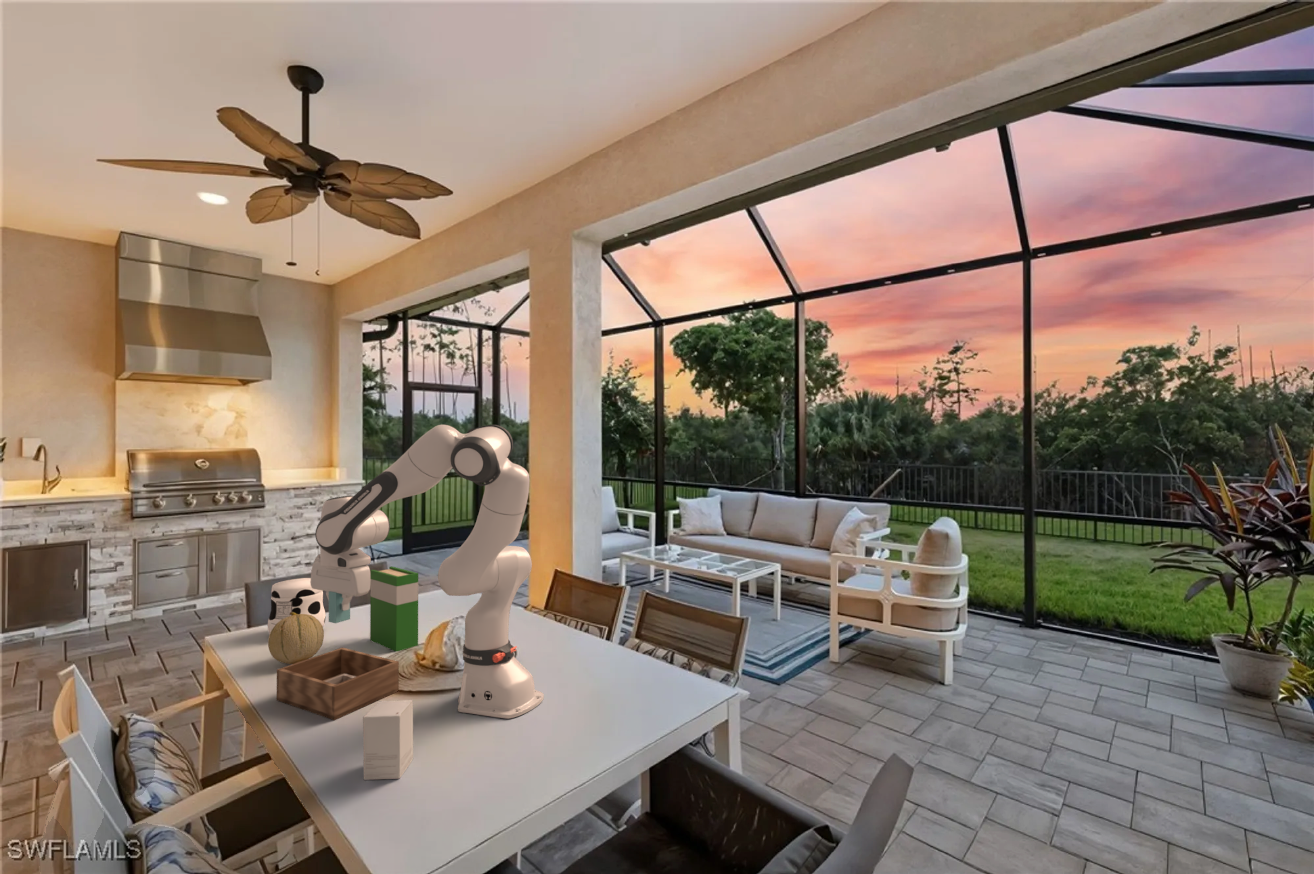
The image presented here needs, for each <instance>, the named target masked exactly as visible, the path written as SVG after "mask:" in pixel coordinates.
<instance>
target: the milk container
mask: <svg viewBox="0 0 1314 874" xmlns="http://www.w3.org/2000/svg"><path fill="white" fill-rule="evenodd" d="M310 581H311V577H301V578H292V579H287V580H283V581H279V582H275V583H274V584H272V585H271V594H270V595H271V596H270V597H271V598H270V613H269V616H268V619H267V630H268V633H269V634H270V632H271V631H272V629H273V628H274V626H275V625H276V624H277V623H278V622H279V621H281V620H282V619H284V618H286V617H289V616H292V615H289V614H290V612H294V613H296V614H308V615H312V616H314V617H315V618H316V619H317V620H319V621H320V623H321V625H322V626H323V627H324V626H325V625H326V614H327V613H326V610H325V608H324V603H323V602H324V600H323V599H324V592H323V590H317V589H313V588H312V587H311V584H310Z"/></svg>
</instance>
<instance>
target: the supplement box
mask: <svg viewBox="0 0 1314 874" xmlns="http://www.w3.org/2000/svg"><path fill="white" fill-rule="evenodd" d="M413 701H414V700H413V699H409V700H406V699H404V700H378V701H377V702H376V704H375V705H374V706H373V707H371V709H369V711H368V712H367V713H366V714H365V715H364V716H363V717H362V724H363V725H362V726H363V727H362V729H363V732H362V734H363V739H362V740H363V741H362V742H363V743H362V744H363V758H362V759H363V780H364V781H368V780H369V781H371V780H372V781H373V780H392V779H393V780H394V779H395V780H396V779H397V780H398V779H401V777H402V776H403V775H404V773H405V772H406V770H407V769H408V768H409V766H410V765H411V763H412V762H413V760H414V708H413V707H414V702H413Z"/></svg>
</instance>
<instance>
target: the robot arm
mask: <svg viewBox="0 0 1314 874" xmlns="http://www.w3.org/2000/svg"><path fill="white" fill-rule="evenodd" d="M513 448H514V440H513V437H512V435H511V433H510V432H509V430H507V429H506V428H505V427H503V426H501V425H498V424H488V425H486V424H485V425H482V426H479V427H475V428H471V429H469V430H468V431H467V432H466V433H462V432H460V431H459V430H457V428H455V427H453V426H451V425H448V424H438V425H436V426H433V427H432V428H431V429H429V430H428V431H426V432H425V433H424V434H423V435H422V436H420V437H419V438H418V439H417V440H415V442H414V443H413V444H412V445H411V446H410V447H409V448H408V449H407V450H406V451H405V452H404V453H403V454H402V455H401V456H400V457H399V458H397V460H396V461H394V462H393V463H392V464H391V465H389V466H388V467H387V468H386V469H384V470H383V471H382V472H381V473H379V474H377V475H376V477H374V478H373V479H371V480H370V481H369V482H367V484H366V485H365V486H363V487H362V488H361V489H360V490H358V491H357V492H356V493H355V494H354V495H344V496H342V495H341V496H336V497H335V496H334V497H331V498H328V499H326V500H325V501H324V503H323V505H322V508H321V513H320V520H319V522H318V523H317V526H316V528H315V532H314V534H315V540H316V543H317V544H318V546H319V547H320V553H319V554H318V555H317V556H316V557H315V558H314V563H312V566H311V571H310V578H311V581H310V584H311V587H312V588H313V589H317V590H323V591H325V595H326V598H327V600H328V602H329V591H331V592H336V593H340V594H342V598H343V601H342V603H340V610H343V611H345V610H348V609H349V603H350V604H351V602H352V599H353V598H354V597H362V596H364V595H367V594H368V593H370V585H371V569H370V566H369V565H370V564H371V562H372V559H371V556H370V555H369V554H368V553H365V552H364V551H363V550H362V549H361V548H366V547H370V546H373V545H377V544H380V543H383V542H384V541H385V540H386V539H387V537H388V536H389V534H390V528H391V524H390V519H389V517H388V516H387V514H386V513H385V512H384V511H383V510H381V508H382V507H384V506H386V505H388V504H390V503H392V502H395V501H398V500H401V499H405V498H408V497H413V496H416V495H420V494H423V493H426V492H428V491H429V490H430V489H432V488H433V487H436V486H437V484H439V483H440V481H442V480H443V479H444V478H445V476H447V475H448V473H449V472H450V471H451V470H453V471H454V472H455V473H456V474H457V475H458V476H459V477H461V478H462V479H464V480H467V481H470V482H472V483H474V484H476V485H477V486H480V487H483V486H484V491H483V495H482V499H481V503H480V508H479V512H478V515H477V518H476V522H475V523H474V527H473V528H472V530H471V531H470V534H469V535H468V537H467V538H466V540H464V542H463V543H462V544H461V546H460V547H458V549H456V551H455V552H453V553H452V554H451V555H448V557H446V558H445V559H444V560H443V561H442V562H441V564H440V566H439V569H438V571H437V572H438V573H437V581H438V584H439V587H440V589H441V590H442V591H443V592H444V593H445V594H446V595H448V596H453V597H467V596H472V595H477V594H480V593H482V594H481V596H480V598H479V599H478V601H477V602H476V603H475V604H474V605H473V606H472V607H470V609H469V610H468V611H467V613H466V615H465V618H464V644H463V646H462V647H463V648H462V660H463V661H464V665H463V671H462V678H461V687H460V690H459V691H460V693H459V696H458V697H457V701H458V702H457V703H458V705H457V712H459V713H464V714H465V713H467V714H474V715H478V716H479V715H480V716H486V717H492V718H499V719H500V718H501V719H509V720H510V719H513V718H516V717H519V716H522V715H524V714H526V713H528V712H531V710H533V709H535V708H536V707H537V706H539V705H540V704H542V702H543V700H544V698H545V696H544V693H543V692H541V691H539V690H537V689H535V688H536V687H535V681H534V677H533V675H532V674H531V672H530V671H529V670H528V669H527V668H525V667H524V665H523V664H521V662H520V661H519V660H518V659H517V658H516V657H515V654H514V652H516V651H517V648H518V647H517V645H516V646H513V647H512V644H511V641H510V639H509V632H510V631H509V628H510V627H509V625H510V613H511V612H510V611H511V607H512V604H513V601H514V599H515V597H516V595H517V592H518V590H519V588H520V587H521V586H522V584H523V583H524V582H525V581H526V580H527V579H528V577H529V576H530V574H531V571H532V567H533V564H532V563H533V562H532V557H531V555H530V554H529V551H527V549H526V548H524V547H522V546H519V545H517V546H516V545H510V544H512V543H513V542H514V541H515V540H516V539H517V537H518V536H519V534H520V530H521V527H522V522H523V520H524V515H525V512H526V508H527V504H528V499H529V493H530V492H529V491H530V478H531V477H530V475H529V472H528V471H527V469H526V468H524V467H523V466H521V465H520V464H517V463H514V462H512V461H511V460H510V459H509V457H510V456H511V454H512V451H513Z"/></svg>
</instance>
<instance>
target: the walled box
mask: <svg viewBox="0 0 1314 874" xmlns="http://www.w3.org/2000/svg"><path fill="white" fill-rule="evenodd" d="M399 665H400V662H399V661H397V660H394V659H390V658H386V657H382V656H378V655H374V654H371V653H366V652H362V651H358V650H355V649H350V648H346V647H340V648H337V649H333V650H331V651H328V652H325V653H322V654H319V655H314V656H312V657H311V658H309V659H307V660H304V661H301V662H298V663H295V664H288V665H286V666H283V667H280V668H278V669H277V668H276V701H278V702H280V703H284V704H286V705H289V706H292V707H295V708H298V709H301V710H302V711H303V710H304V711H307V712H309V713H312V714H315V715H318V716H321V717H324V718H326V719H330V720H333V721H336V720H339V719H340V718H343V717H345V716H347V715H349V714H350V715H351V714H352V713H354V712H356V711H358V710H361V709H362V708H365V707H367V706H370V705H371V704H374V703H377V702H379V701H382V700H383V699H385V698H386V697H387V698H388V697H389V696H391V695H393V694H396V693H398V692H399V691H398V690H399V688H400V687H399V686H400V685H399V676H400V670H399V667H400V666H399ZM397 691H398V692H397Z"/></svg>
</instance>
